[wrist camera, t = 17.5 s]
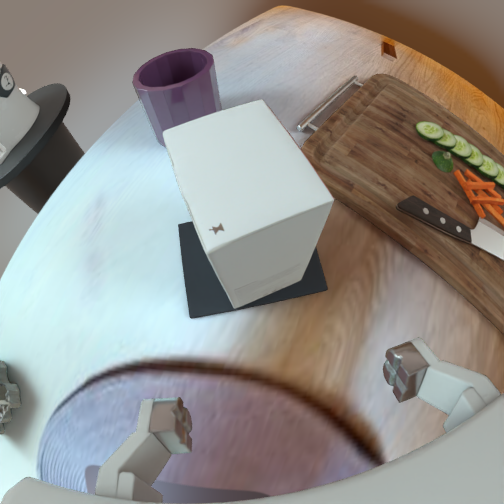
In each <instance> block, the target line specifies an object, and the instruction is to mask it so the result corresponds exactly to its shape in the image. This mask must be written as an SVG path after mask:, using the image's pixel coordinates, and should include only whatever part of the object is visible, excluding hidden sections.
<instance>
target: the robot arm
mask: <svg viewBox="0 0 504 504" xmlns="http://www.w3.org/2000/svg"><path fill="white" fill-rule="evenodd" d="M25 93H26V92H25V91H24V90H22V89H19V88H18V86H17V85H16V84H15V82H14V80H13V77H12V75H11V74H10V72H9V71H8V69H7V68H6V66H5V65H4V64H1V62H0V165H1V164H2V163H3V161H4V160H5V158H6V157H7V156H8V154H9V153H10V151H11V150H12V149H13V148H14V147H15V146H16V145H17V144H18V142H19V141H20V140H21V139H22V138H23V137H24V136H25V134H26V133H27V132H28V131H29V129H30V128H31V126H32V125H33V123H34V122H35V120H36V118H37V116H38V114H39V110H40V107H39V105H37V104H36V103H34V102H33V101H32V100H30V99H29V98H28V97H27V96H26V95H25ZM386 358H387V360H386V362H385V363H384V366H383V373H384V377H385V379H386V381H387V383H388V384H389V385H391V386H394V388H393V393H394V395H395V396H396V398H397V400H398V401H399V403H401V402H403V401H406V400H408V399H410V398H413V397H415V396H417V397H418V398H420V399H422V400H423V401H425V402H427V403H428V404H430V405H432V406H434V407H436V408H437V409H439V410H441V411H443V412H444V413H446V414H448V415H449V416H448V418H447V419H446V421H445V422H444V424H443V428H444V429H445V431H446V433H445V434H444V435H442V436H440V437H438V438H437V439H435V440H433V441H431V442H429V443H427V444H426V445H424V446H422V447H420V448H418V449H416V450H414V451H412V452H410V453H408V454H406V455H403V456H401V457H399V458H397V459H395V460H392V461H390V462H388V463H385V464H383V465H381V466H378V467H376V468H373V469H370V470H368V471H365V472H362V473H360V474H357V475H354V476H351V477H348V478H345V479H342V480H339V481H336V482H332V483H329V484H325V485H322V486H318V487H314V488H310V489H306V490H302V491H297V492H293V493H288V494H283V495H277V496H272V497H266V498H259V499H252V500H243V501H234V502H222V503H198V504H504V393H503V394H502V395H501V393H500V392H499V391H498V390H497V388H496V387H495V386H494V385H493V383H492V382H491V381H490V380H489V379H488V377H487V376H486V375H483V374H480V373H477V372H474V371H472V370H469V369H466V368H463V367H461V366H458V365H455V364H452V363H450V362H447V361H444V360H442V361H440V360H439V359H438V358H437V356H436V355H435V354H434V353H433V352H432V350H431V349H430V348H429V347H428V346H427V345H426V343H425V342H424V341H423V340H422V339H421V338H419V337H418V338H416V339H413V340H411V341H408V342H405V343H403V344H400V345H398V346H395V347H393V348H390V349H388V350H387V351H386ZM191 430H192V421H191V416H190V413H189V411H188V409H187V408H185V407H183V401H182V399H181V398H180V397H178V398H161V399H143V401H142V402H141V406H140V411H139V417H138V422H137V428H136V432H134V433H132V434H131V435H130V436H129V437H128V438H127V439H126V440H125V441H124V442H123V443H122V445H121V446H120V447H119V448H118V449H117V450H116V451H115V452H114V453H113V454H112V455H111V456H110V457H109V458H108V459H107V461H106V462H105V463H104V464H103V465H102V466H101V467H100V468H99V473H98V478H97V483H96V489H95V495H94V494H89V493H84V492H80V491H76V490H72V489H68V488H64V487H60V486H57V485H53V484H50V483H47V482H44V481H41V480H38V479H35V478H32V477H26V478H24V479H22V480H21V481H19V482H18V483H17V484H15V485H14V486H13V487H12V488H11V489H9V490H8V491H7V492H6V493H5V495H4V497H3V499H2V501H1V504H177V503H162V494H161V493H160V492H158V491H157V490H155V489H154V488H152V487H151V486H152V484H153V483H154V481H155V480H156V478H157V477H158V475H159V474H160V472H161V471H162V469H163V468H164V466H165V465H166V463H167V462H168V460H169V459H170V457H171V454H179V453H192V438H191V437H190V436H189V433H190V432H191Z"/></svg>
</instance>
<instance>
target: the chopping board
mask: <svg viewBox="0 0 504 504" xmlns="http://www.w3.org/2000/svg"><path fill="white" fill-rule="evenodd" d="M357 80H358V77H357V76H353V77H352V78H351V79H350V80H349V81H348V82H346V83H345V84H344V85H343V86H342V87H341V88H339V89H338V90H337V91H336V92H335V93H334V94H332V95H331V96H330V97H329V98H328V99H327V100H326V101H324V102H323V103H322V104H321V105H320V106H319V107H318V108H317V109H316V110H314V111H313V112H312V113H311V114H310V115H309V116H308V117H307V118H306V119H304V120H303V121H302V122H301V123H300V124H299V125H298V126H297V129H298V130H299V131H303V130H304V129H305V128H306V127H309V128H311V129H313V130H315V132H314V133H313V134H312V135H311V136H310V137H309V138H308V139H307V140H306V141H305V143H304V144H303V146H302V148H301V150H302V152H303V153H304V154H305V156H306V157H307V159H308V160H309V161H310V163H311V164H312V166H313V167H314V169H315V170H316V172H317V173H318V175H319V176H320V178H321V179H322V181H323V182H324V183H325V185H326V186H327V188H328V189H329V191H330V193H331V194H332V196H333V197H335V198H336V199H338V200H339V201H341V202H342V203H344V204H345V205H347V206H348V207H350V208H351V209H352V210H354V211H355V212H357V213H358V214H360V215H361V216H363V217H364V218H365V219H367V220H368V221H370V222H371V223H372V224H374V225H375V226H377V227H378V228H379V229H381V230H382V231H384V232H385V233H386V234H388V235H389V236H390V237H392V238H393V239H394V240H396V241H397V242H398V243H400V244H401V245H402V246H403V247H405V248H406V249H407V250H409V251H410V252H411V253H413V254H414V255H415V256H416V257H418V258H419V259H420V260H421V261H423V262H424V263H425V264H426V265H428V266H429V267H430V268H431V269H432V270H434V271H435V272H436V273H437V274H438V275H440V276H441V277H442V278H443V279H444V280H446V281H447V282H448V283H449V284H450V285H451V286H453V287H454V288H455V289H456V290H457V291H458V292H459V293H460V294H462V295H463V296H464V297H465V298H466V299H467V300H468V301H469V302H470V303H472V304H473V305H474V306H475V307H476V308H477V309H478V310H479V311H480V312H481V313H482V314H483V315H484V316H485V317H486V318H487V319H489V320H490V321H491V322H492V323H493V324H494V325H495V326H496V327H497V328H498V329H499V330H500V331H501V332H502V333H503V334H504V155H503V154H502V153H501V152H499V151H498V150H497V149H496V148H495V147H494V146H493V145H492V144H491V143H489V142H488V141H487V140H486V139H485V138H484V137H482V136H481V135H480V134H479V133H478V132H476V131H475V130H474V129H473V128H471V127H470V126H469V125H468V124H466V123H465V122H464V121H462V120H461V119H460V118H458V117H457V116H456V115H454V114H453V113H451V112H450V111H449V110H447V109H446V108H444V107H443V106H441V105H440V104H438V103H437V102H435V101H434V100H432V99H431V98H429V97H428V96H426V95H425V94H423V93H421V92H420V91H418V90H417V89H415V88H413V87H412V86H410V85H408V84H406V83H405V82H403V81H401V80H399V79H397V78H395V77H393V76H390V75H386V74H376V75H374V76H372V77H371V78H370V79H369V80H368V81H367V82H366V83H365V84H364V85H363V84H361V83H359V82H357ZM353 84H356V85H358V86H360V88H359V89H358V90H357V91H356V92H355V93H354V94H353V95H352V96H351V97H350V98H349V99H348V100H347V101H346V102H345V103H344V104H343V105H342V106H341V107H340V108H339V109H338V110H337V111H335V112H334V113H333V114H332V115H331V116H330V117H329V118H328V119H327V120H326V121H325V122H324V123H323V124H322V125H321V126H320V127H317V126H315V125H313V124H311V122H312V121H313V120H314V119H315V118H316V117H318V116H319V115H320V114H321V113H322V112H323V111H324V110H325V109H326V108H327V107H328V106H329V105H330V104H332V103H333V102H334V101H335V100H336V99H337V98H338V97H339V96H340V95H341V94H342V93H344V92H345V91H346V90H347V89H348V88H349V87H350V86H351V85H353Z"/></svg>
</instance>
